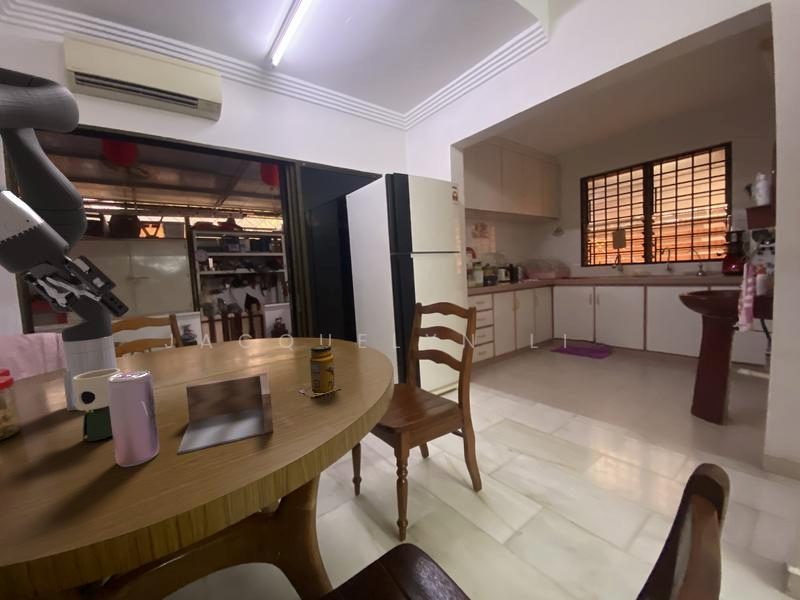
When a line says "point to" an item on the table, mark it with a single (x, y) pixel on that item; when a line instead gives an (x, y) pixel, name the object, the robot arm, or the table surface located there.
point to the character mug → (94, 402)
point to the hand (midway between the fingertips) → (108, 316)
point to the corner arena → (227, 411)
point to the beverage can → (133, 417)
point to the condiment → (321, 369)
